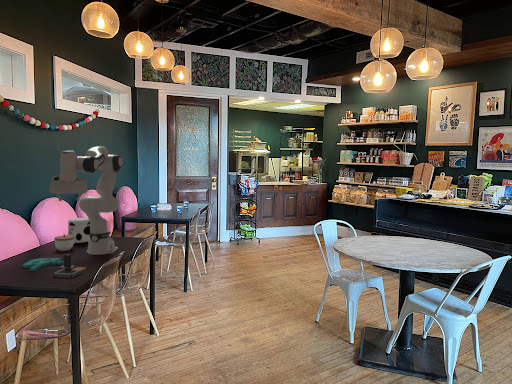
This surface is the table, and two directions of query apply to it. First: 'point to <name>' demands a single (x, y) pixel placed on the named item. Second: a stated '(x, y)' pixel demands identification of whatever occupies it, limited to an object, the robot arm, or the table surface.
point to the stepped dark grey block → (67, 262)
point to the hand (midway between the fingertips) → (68, 200)
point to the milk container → (79, 230)
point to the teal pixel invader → (42, 263)
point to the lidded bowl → (64, 242)
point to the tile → (78, 268)
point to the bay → (62, 274)
